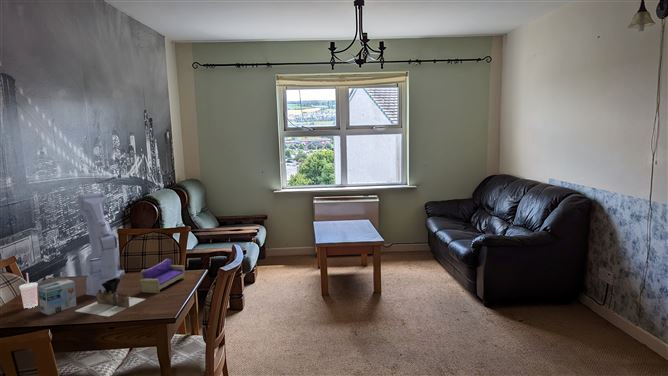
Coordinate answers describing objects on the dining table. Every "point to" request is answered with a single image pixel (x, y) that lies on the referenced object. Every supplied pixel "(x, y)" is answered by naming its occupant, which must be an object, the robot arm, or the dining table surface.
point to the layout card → (107, 308)
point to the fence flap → (106, 297)
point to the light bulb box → (57, 296)
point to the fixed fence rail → (122, 300)
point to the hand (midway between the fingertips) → (112, 297)
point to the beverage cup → (29, 294)
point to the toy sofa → (161, 276)
